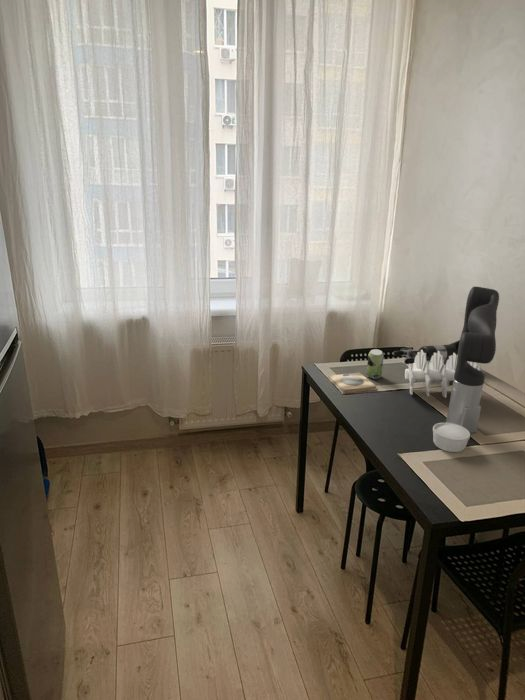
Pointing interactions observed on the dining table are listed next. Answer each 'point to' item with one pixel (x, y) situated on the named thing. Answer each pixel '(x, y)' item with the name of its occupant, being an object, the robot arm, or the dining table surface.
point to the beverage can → (375, 363)
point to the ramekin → (450, 437)
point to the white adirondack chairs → (433, 370)
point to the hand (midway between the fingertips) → (399, 357)
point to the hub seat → (351, 382)
